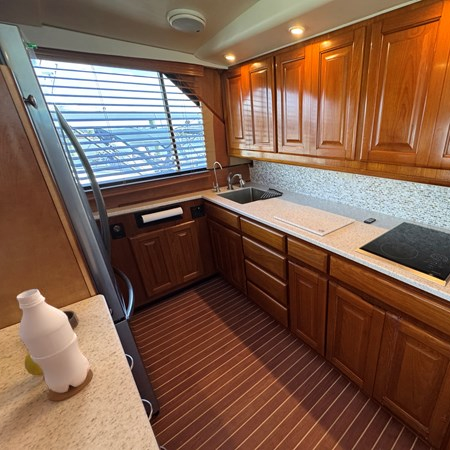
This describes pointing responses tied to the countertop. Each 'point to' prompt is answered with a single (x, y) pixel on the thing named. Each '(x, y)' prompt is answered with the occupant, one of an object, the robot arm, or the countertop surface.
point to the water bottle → (51, 342)
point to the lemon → (32, 366)
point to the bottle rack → (72, 318)
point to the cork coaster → (70, 389)
